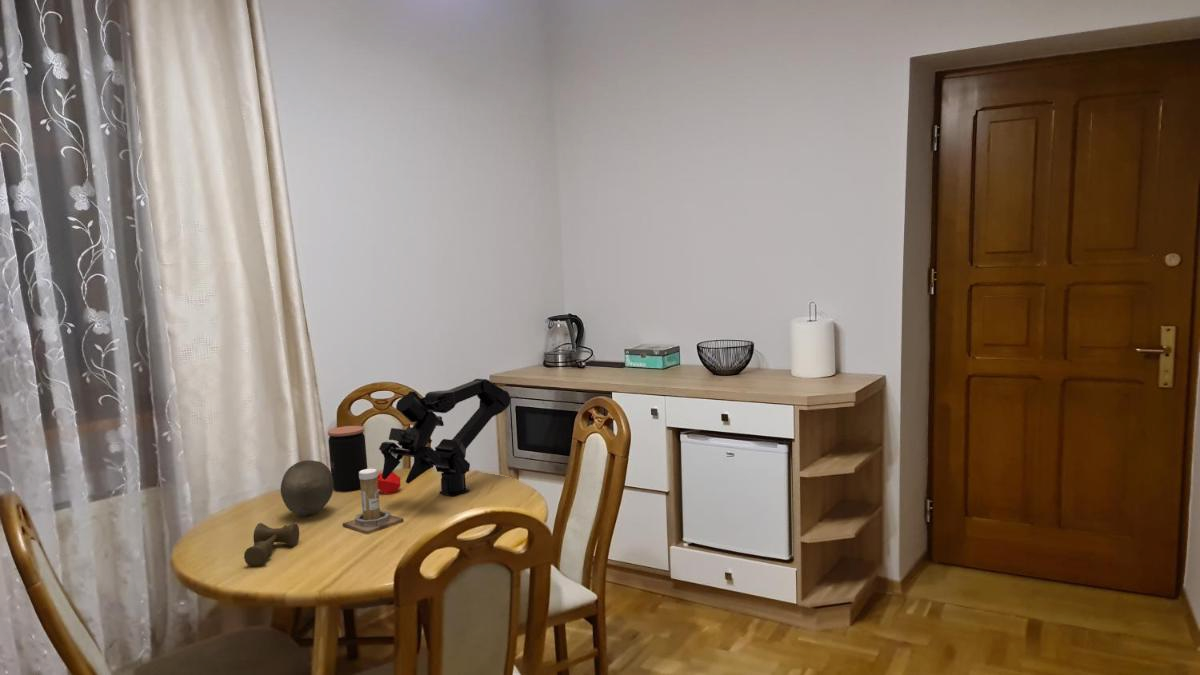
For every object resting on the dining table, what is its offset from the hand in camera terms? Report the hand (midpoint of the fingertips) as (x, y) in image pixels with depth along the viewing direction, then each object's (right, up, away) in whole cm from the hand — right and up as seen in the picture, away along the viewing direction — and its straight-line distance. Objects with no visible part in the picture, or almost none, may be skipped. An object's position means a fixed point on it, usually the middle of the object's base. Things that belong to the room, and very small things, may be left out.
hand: (395, 480), depth 213 cm
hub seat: (-4, -10, -6) cm, 13 cm away
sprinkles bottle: (-5, -10, -6) cm, 12 cm away
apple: (-8, -8, +23) cm, 25 cm away
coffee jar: (-21, -8, +30) cm, 37 cm away
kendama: (-24, -13, -22) cm, 35 cm away
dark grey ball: (-24, -10, +4) cm, 27 cm away
